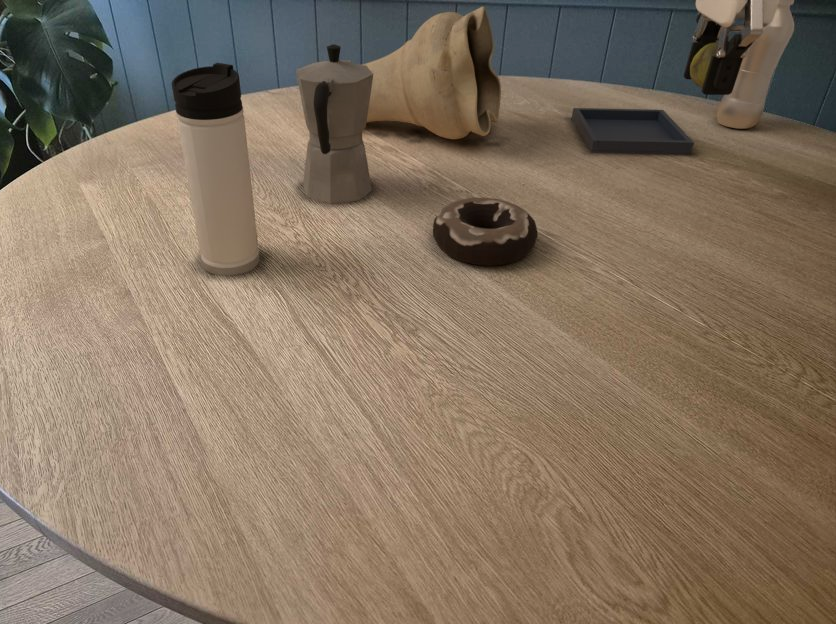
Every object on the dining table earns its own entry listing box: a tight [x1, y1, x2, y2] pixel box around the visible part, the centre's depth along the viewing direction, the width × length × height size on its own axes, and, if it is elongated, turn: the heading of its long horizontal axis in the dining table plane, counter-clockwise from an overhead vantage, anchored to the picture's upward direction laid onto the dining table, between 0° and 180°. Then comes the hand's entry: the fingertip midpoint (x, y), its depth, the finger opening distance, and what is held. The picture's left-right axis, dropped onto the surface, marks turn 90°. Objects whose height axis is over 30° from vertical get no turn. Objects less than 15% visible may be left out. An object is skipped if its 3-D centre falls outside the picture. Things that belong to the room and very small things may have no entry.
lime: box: [690, 43, 718, 88], centre depth 75 cm, size 4×5×5 cm
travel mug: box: [171, 62, 261, 277], centre depth 66 cm, size 6×7×20 cm
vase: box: [362, 6, 502, 140], centre depth 101 cm, size 22×22×28 cm
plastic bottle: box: [715, 0, 795, 130], centre depth 101 cm, size 6×7×20 cm
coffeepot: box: [295, 43, 374, 205], centre depth 81 cm, size 15×9×18 cm, turn 171°
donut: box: [432, 197, 538, 267], centre depth 75 cm, size 12×12×4 cm
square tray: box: [570, 107, 695, 156], centre depth 103 cm, size 15×15×2 cm
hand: (706, 84), depth 76 cm, fingers closed on lime, 5 cm apart
